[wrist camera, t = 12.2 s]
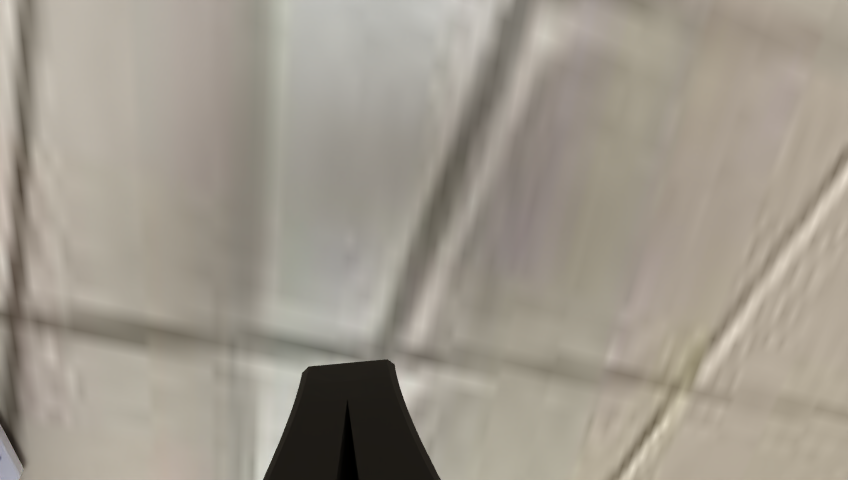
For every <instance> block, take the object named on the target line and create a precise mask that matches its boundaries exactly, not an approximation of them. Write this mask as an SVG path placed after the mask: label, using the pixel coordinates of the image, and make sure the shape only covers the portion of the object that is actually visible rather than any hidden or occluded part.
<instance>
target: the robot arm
mask: <svg viewBox="0 0 848 480" xmlns="http://www.w3.org/2000/svg"><path fill="white" fill-rule="evenodd" d="M22 472H23V466H22V464H21V462H20V461H19V459H18V457H17V455H16V453H15V451H14V449H13V447H12V445H11V443H10V441H9V440H8V438H7V436H6V434H5V432H4V430H3V428H2V426H1V424H0V480H19V479H20V477H21V475H22ZM263 480H441V479H440V478H439V476H438V474H437V472H436V470H435V468H434V466H433V464H432V462H431V460H430V458H429V456H428V454H427V452H426V450H425V448H424V446H423V444H422V442H421V440H420V438H419V435H418V433H417V431H416V429H415V426H414V424H413V422H412V419H411V417H410V414H409V412H408V409H407V407H406V404H405V401H404V399H403V396H402V393H401V390H400V386H399V383H398V379H397V375H396V371H395V365H394V364H393V363H392V362H390V361H389V360H376V361H365V362H354V363H343V364H332V365H321V366H310V367H308V368H307V369H306V370H305V371H304V372H303V373H302V377H301V381H300V385H299V389H298V392H297V395H296V398H295V402H294V405H293V408H292V410H291V413H290V416H289V419H288V421H287V424H286V427H285V429H284V432H283V435H282V437H281V440H280V442H279V444H278V447H277V449H276V451H275V454H274V456H273V458H272V460H271V463H270V465H269V467H268V470H267V472H266V474H265V477H264V479H263Z"/></svg>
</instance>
